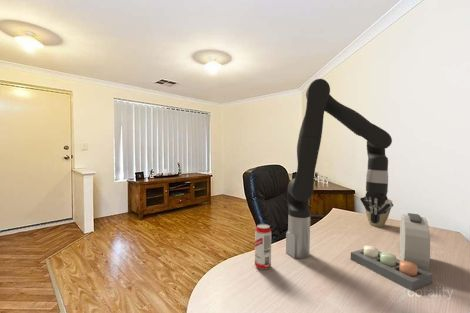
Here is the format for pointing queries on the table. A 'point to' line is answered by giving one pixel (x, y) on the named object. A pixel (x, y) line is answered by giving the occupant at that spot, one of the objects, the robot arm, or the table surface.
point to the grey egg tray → (393, 271)
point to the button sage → (388, 259)
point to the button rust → (408, 268)
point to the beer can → (263, 246)
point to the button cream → (371, 251)
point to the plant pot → (382, 217)
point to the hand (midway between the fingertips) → (374, 223)
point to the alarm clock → (415, 240)
